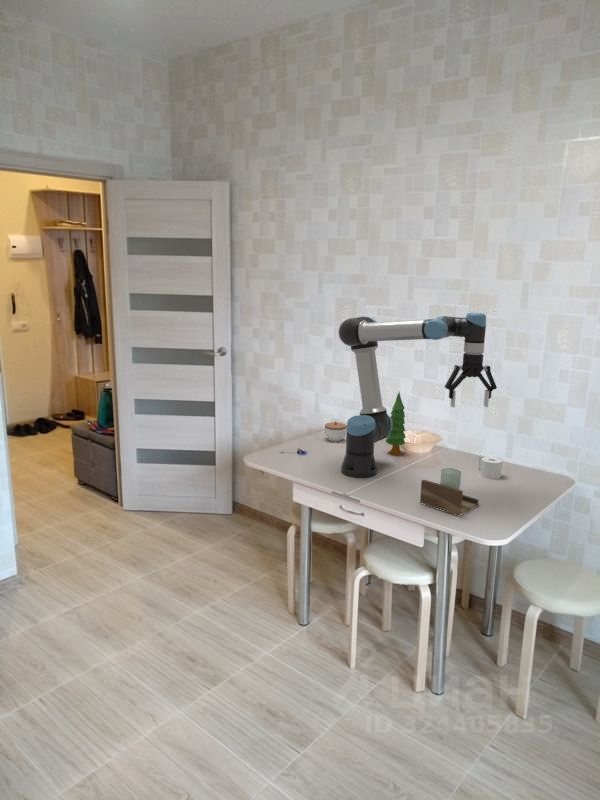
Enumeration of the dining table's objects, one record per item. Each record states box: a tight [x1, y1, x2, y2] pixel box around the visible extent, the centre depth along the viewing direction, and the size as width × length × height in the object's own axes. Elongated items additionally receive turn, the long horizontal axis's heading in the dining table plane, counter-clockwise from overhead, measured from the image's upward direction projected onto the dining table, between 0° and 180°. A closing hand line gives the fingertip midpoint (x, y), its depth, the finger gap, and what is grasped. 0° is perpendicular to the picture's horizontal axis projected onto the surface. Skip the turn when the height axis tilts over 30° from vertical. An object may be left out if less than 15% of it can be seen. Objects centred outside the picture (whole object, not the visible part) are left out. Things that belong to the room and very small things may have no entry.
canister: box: [439, 467, 462, 490], centre depth 223 cm, size 7×7×12 cm
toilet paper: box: [477, 456, 503, 480], centre depth 258 cm, size 8×11×7 cm
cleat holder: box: [419, 479, 480, 516], centre depth 224 cm, size 14×16×9 cm
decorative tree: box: [385, 391, 406, 456], centre depth 284 cm, size 10×9×30 cm
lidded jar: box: [324, 421, 347, 443], centre depth 305 cm, size 11×11×9 cm
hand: (469, 406), depth 242 cm, fingers open, 13 cm apart
